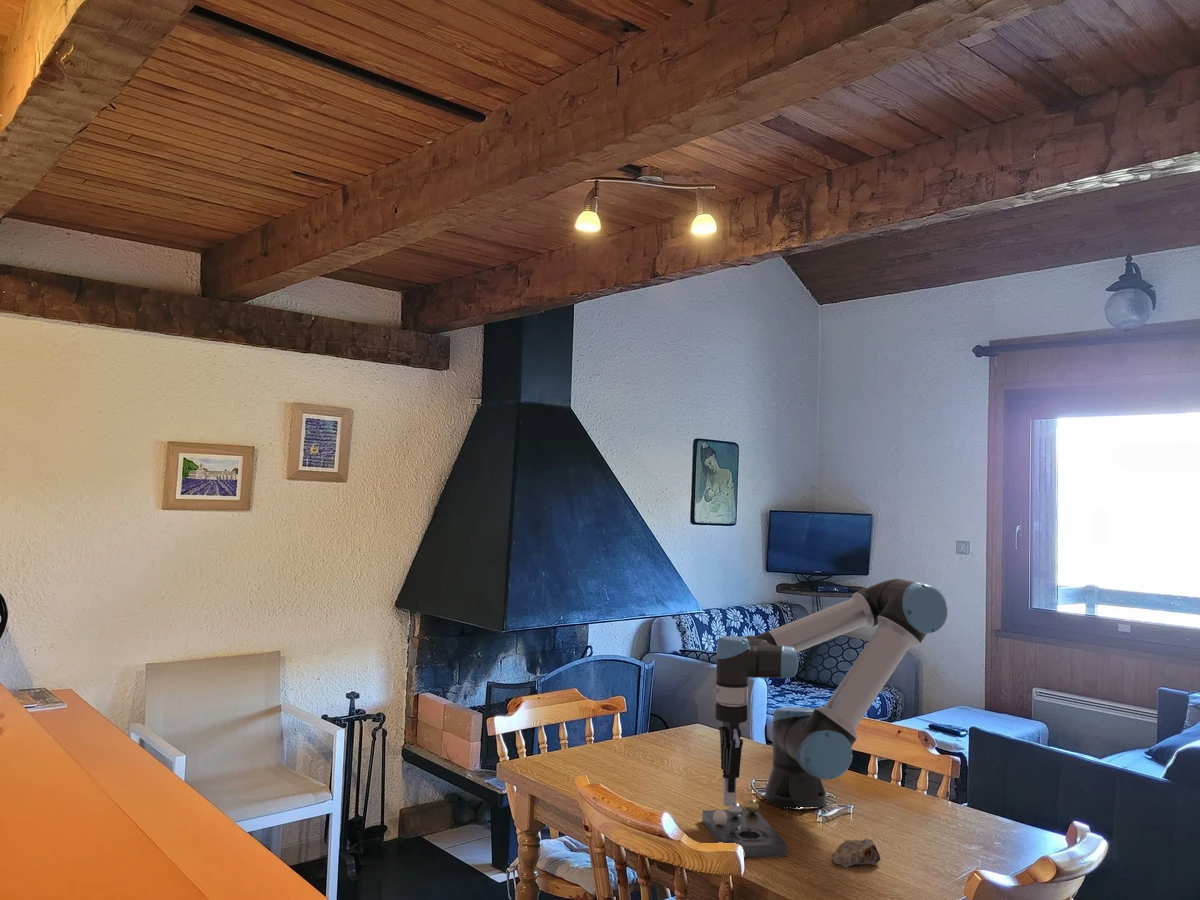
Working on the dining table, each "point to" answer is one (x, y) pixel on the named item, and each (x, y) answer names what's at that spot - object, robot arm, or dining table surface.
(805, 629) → the robot arm
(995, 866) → the dining table surface
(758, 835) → the plate
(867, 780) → the dining table surface
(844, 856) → the rock
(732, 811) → the steel ball
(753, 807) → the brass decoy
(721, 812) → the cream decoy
